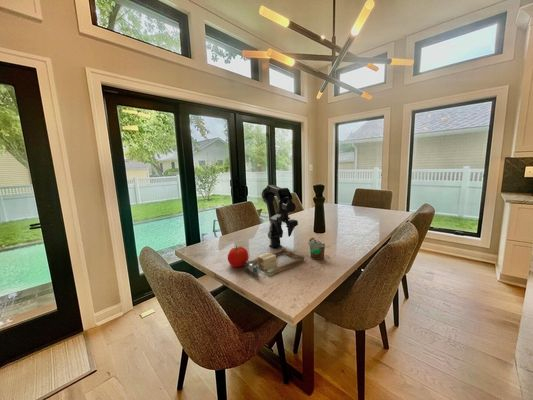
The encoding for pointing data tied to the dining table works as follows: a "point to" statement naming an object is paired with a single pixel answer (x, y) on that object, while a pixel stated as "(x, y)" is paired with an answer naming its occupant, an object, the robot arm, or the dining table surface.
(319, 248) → the food container
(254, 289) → the dining table surface
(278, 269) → the bay
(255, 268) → the winch
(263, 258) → the box
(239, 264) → the tomato
